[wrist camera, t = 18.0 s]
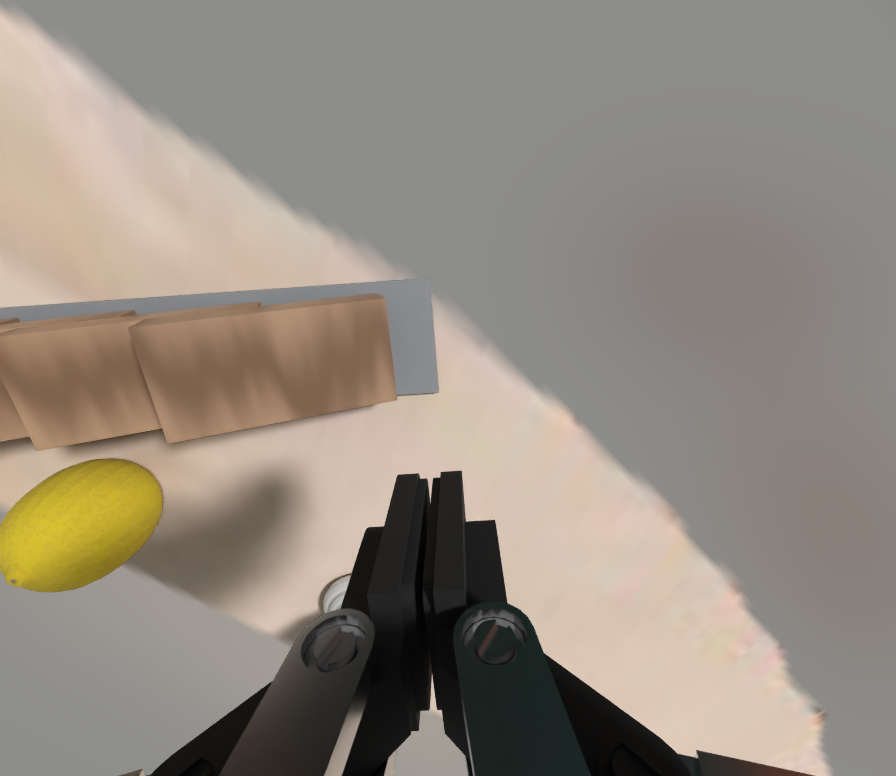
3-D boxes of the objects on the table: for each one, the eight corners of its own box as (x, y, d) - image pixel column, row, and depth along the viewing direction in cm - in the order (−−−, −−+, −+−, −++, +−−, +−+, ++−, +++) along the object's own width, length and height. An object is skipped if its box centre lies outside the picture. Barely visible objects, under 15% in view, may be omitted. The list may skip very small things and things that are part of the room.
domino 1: (154, 414, 21) (-108, 460, 18) (165, 401, 23) (-72, 440, 20) (119, 316, 19) (-179, 349, 16) (134, 309, 21) (-132, 338, 18)
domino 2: (280, 407, 21) (36, 450, 18) (281, 393, 22) (60, 431, 20) (256, 307, 19) (-19, 338, 16) (260, 301, 21) (13, 328, 18)
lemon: (160, 528, 26) (43, 647, 19) (79, 473, 25) (-82, 579, 17) (210, 476, 25) (106, 583, 17) (127, 415, 23) (-25, 503, 16)
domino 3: (397, 400, 20) (167, 443, 18) (388, 387, 22) (178, 425, 19) (385, 298, 19) (127, 328, 16) (377, 293, 20) (143, 319, 18)
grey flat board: (438, 390, 23) (438, 392, 22) (-58, 421, 23) (-64, 423, 23) (429, 278, 20) (429, 278, 20) (-116, 315, 21) (-124, 317, 21)
